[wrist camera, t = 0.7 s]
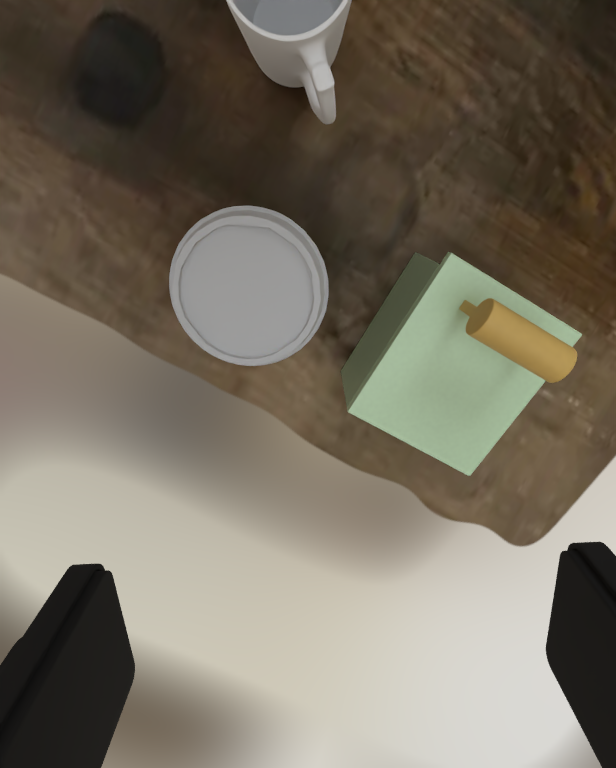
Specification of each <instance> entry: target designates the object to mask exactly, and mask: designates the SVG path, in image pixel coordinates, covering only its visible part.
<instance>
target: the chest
mask: <svg viewBox="0 0 616 768" xmlns="http://www.w3.org/2000/svg"><path fill="white" fill-rule="evenodd" d="M439 265H440V264H438V263H436V262H434V261H432V260H430V259H428V258H426V257H424V256H422V255H420V254H418V253H416V252H415V253H414V255H413V256H412V258H411V260H410V261H409V263H408V264H407V266H406V268H405V269H404V271H403V272H402V274H401V276H400V277H399V279H398V280H397V282H396V284H395V285H394V287H393V288H392V290H391V291H390V293H389V295H388V296H387V298H386V299H385V301H384V303H383V304H382V306H381V307H380V309H379V311H378V312H377V314H376V315H375V317H374V319H373V320H372V322H371V323H370V325H369V327H368V328H367V330H366V331H365V333H364V335H363V336H362V338H361V339H360V341H359V343H358V344H357V346H356V347H355V349H354V351H353V352H352V354H351V355H350V357H349V359H348V360H347V362H346V363H345V365H344V367H343V368H342V370H341V376H342V382H343V388H344V393H345V399H346V405H347V407H348V405H349V403H350V402H351V400H352V399H353V397H354V396H355V394H356V393H357V391H358V390H359V388H360V387H361V385H362V383H363V382H364V380H365V379H366V377H367V376H368V374H369V373H370V371H371V370H372V368H373V367H374V365H375V363H376V362H377V360H378V359H379V357H380V356H381V354H382V353H383V351H384V350H385V348H386V347H387V345H388V343H389V342H390V340H391V339H392V337H393V336H394V334H395V333H396V331H397V330H398V328H399V327H400V325H401V323H402V322H403V320H404V319H405V317H406V316H407V314H408V313H409V311H410V310H411V308H412V307H413V305H414V303H415V302H416V300H417V299H418V297H419V296H420V294H421V293H422V291H423V290H424V288H425V287H426V285H427V284H428V282H429V280H430V279H431V277H432V276H433V274H434V273H435V271H436V270H437V268H438V267H439Z"/></svg>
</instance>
